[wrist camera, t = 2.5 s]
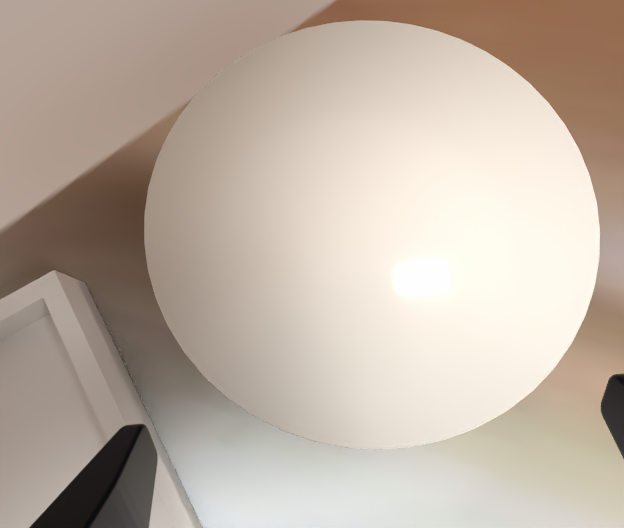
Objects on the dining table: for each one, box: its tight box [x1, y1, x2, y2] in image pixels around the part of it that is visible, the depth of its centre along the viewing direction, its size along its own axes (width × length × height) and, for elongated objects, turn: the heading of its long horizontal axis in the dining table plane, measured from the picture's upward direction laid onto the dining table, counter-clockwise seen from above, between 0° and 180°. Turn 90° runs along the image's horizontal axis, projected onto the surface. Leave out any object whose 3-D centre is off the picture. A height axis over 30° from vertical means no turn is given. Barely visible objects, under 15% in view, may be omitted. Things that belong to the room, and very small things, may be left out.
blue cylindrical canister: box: [144, 21, 600, 450], centre depth 13 cm, size 6×6×14 cm
